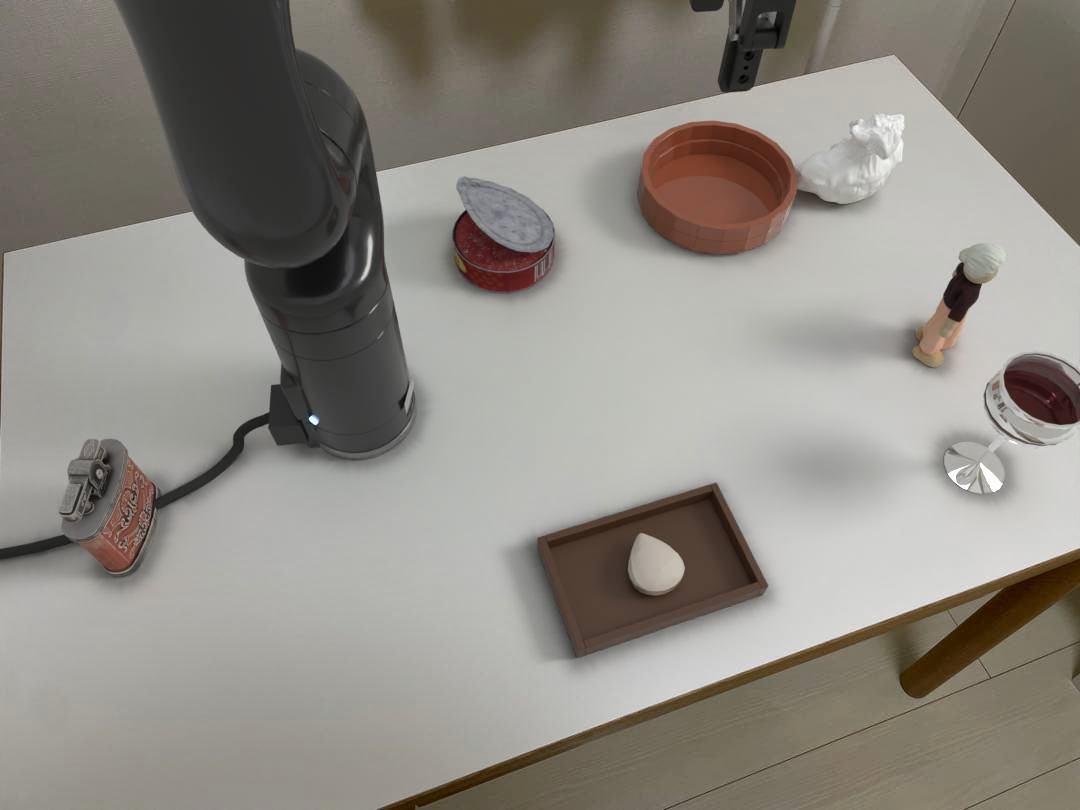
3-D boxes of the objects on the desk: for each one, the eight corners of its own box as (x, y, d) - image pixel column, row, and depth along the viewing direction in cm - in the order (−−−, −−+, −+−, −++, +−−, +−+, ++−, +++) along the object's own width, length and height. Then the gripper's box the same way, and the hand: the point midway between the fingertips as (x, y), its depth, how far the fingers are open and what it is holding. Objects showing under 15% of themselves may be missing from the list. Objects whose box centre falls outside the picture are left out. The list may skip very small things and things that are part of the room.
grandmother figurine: (953, 379, 76) (1023, 287, 65) (909, 372, 76) (972, 279, 66) (948, 314, 80) (1013, 216, 69) (907, 307, 80) (965, 209, 70)
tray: (576, 658, 62) (578, 650, 60) (536, 547, 67) (537, 537, 65) (762, 595, 65) (768, 586, 63) (712, 493, 69) (716, 481, 68)
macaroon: (637, 606, 64) (641, 595, 62) (613, 547, 66) (615, 534, 64) (689, 588, 65) (694, 576, 62) (663, 531, 67) (667, 518, 65)
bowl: (652, 263, 83) (657, 234, 80) (625, 156, 91) (629, 125, 88) (804, 250, 84) (816, 222, 81) (765, 146, 92) (773, 115, 89)
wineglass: (1013, 514, 69) (1097, 440, 59) (928, 488, 70) (996, 411, 60) (1018, 446, 72) (1098, 365, 62) (937, 422, 73) (1002, 339, 63)
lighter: (128, 483, 69) (72, 420, 61) (169, 484, 69) (119, 421, 61) (97, 577, 65) (33, 522, 57) (141, 578, 65) (83, 524, 57)
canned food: (477, 254, 89) (482, 159, 84) (566, 274, 87) (577, 177, 82) (426, 288, 80) (428, 183, 75) (524, 312, 77) (533, 204, 72)
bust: (787, 221, 89) (850, 203, 78) (769, 150, 88) (830, 121, 77) (884, 193, 92) (958, 171, 81) (867, 123, 91) (940, 92, 80)
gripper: (678, -298, 46) (643, -12, 59) (741, -173, 38) (685, 122, 52) (813, -303, 46) (748, -18, 60) (902, -180, 39) (804, 114, 52)
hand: (719, 47), depth 56 cm, fingers open, 8 cm apart
